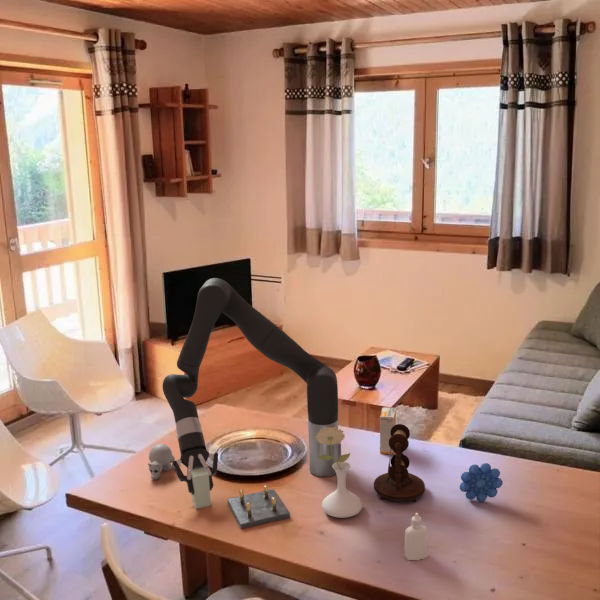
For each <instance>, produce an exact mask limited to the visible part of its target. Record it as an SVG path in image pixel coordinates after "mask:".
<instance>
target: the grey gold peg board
mask: <svg viewBox="0 0 600 600" xmlns="http://www.w3.org/2000/svg"><path fill="white" fill-rule="evenodd" d="M227 504H228V507H229V509H230V511H231V513H232V514H233V516H234V518H235V520H236V522H237V524H238V527H240V529H241V530H243V529H247V528H251V527H256V526H260V525H263V524H268V523H272V522H276V521H277V522H278V521H281V520H286V519H290V518H291V514H290V511H289V509H288V507H286V505H285V503H284V502H283V500H282V499H281V498H280V495H278V493H277V491H276V490H275V489H274V488H271V489H269V485H268V484H264V485H263V490H262V491H257V492H253V493H248V494H245V491H244V489H240V490H239V496H234V497H231V498H227ZM246 527H247V528H246ZM242 528H243V529H242Z"/></svg>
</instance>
